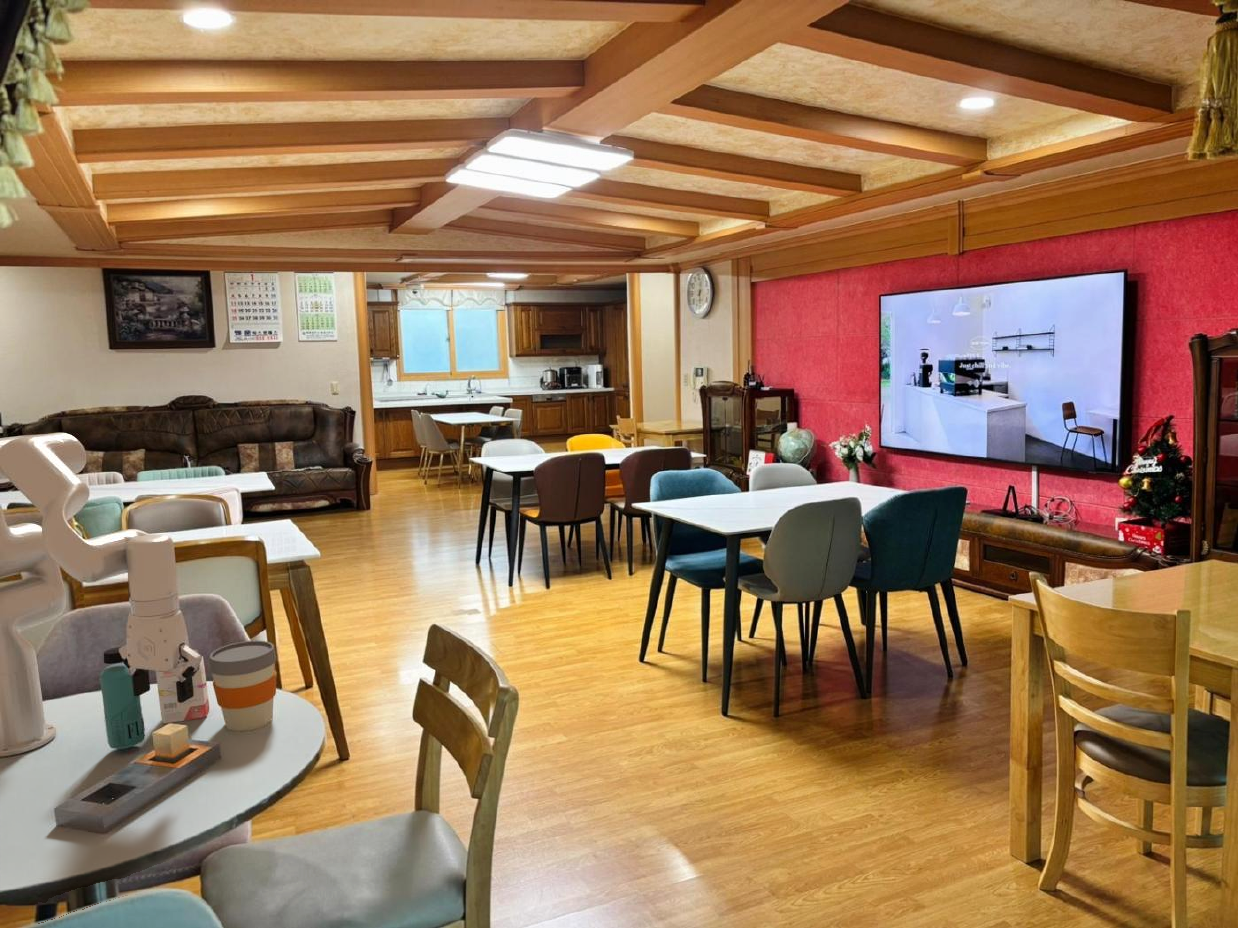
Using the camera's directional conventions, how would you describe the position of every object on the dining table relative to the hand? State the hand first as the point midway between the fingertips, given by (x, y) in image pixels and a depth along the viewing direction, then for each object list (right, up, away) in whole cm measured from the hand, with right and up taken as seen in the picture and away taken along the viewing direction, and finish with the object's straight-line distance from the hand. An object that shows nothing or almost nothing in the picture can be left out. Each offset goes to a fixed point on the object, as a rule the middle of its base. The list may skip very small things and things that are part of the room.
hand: (163, 696), depth 161 cm
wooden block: (+1, -14, +2) cm, 14 cm away
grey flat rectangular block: (-1, -15, -5) cm, 16 cm away
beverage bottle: (-13, -13, +11) cm, 22 cm away
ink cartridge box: (-8, -11, +26) cm, 29 cm away
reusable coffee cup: (+6, -11, +22) cm, 25 cm away
